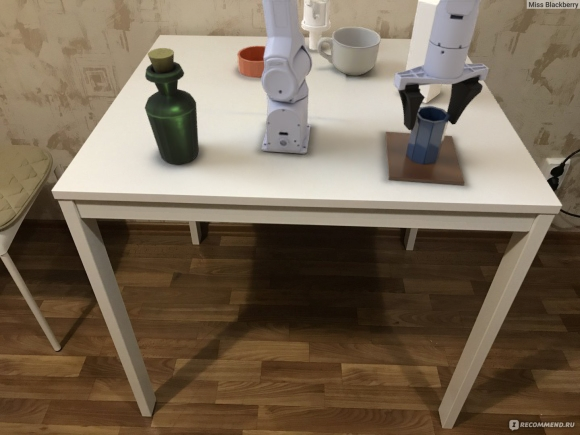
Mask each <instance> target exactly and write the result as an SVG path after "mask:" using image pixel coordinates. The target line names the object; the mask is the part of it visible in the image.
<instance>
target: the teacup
mask: <svg viewBox="0 0 580 435" xmlns="http://www.w3.org/2000/svg"><path fill="white" fill-rule="evenodd" d="M381 41H382V37H381V35H380V34H379V33H378V32H376V31H375V30H373V29H371V28H367V27H362V26H343V27H339V28H337V29H335V30H334V31H333V32H332V35H331V38H330V37H329V36H324V37H323V36H322V38H321V39H320V40H319V41H318V43H317V50H316V51H317V52H318V54H319V56H321V57H322V58H324V59H325V60H327V61H328V63H329V64H332V65H333V66H334V68H335V69H337V70H338V71H339V72H341V73H342V74H345V75H347V76H361V75H364V74H366V73H367V72H369V71H370V70H372V69H373V68H374V66H375V65H376V64H377V60H378V55H379V49H380V44H381ZM325 43H327V44H328V45H329V48H330V50H331V52H330V54H328V53H326V52H325V51H324V50H323V49H322V45H323V44H325Z"/></svg>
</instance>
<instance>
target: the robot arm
mask: <svg viewBox="0 0 580 435" xmlns="http://www.w3.org/2000/svg"><path fill="white" fill-rule="evenodd" d="M261 2H262V9H263V16H264V22H265V23H264V24H265V29H266V30H265V32H266V38H267V39H266V45H265V46H266V48H265V52H264V71H263V74H262V77H260V78H261V79H260V80H261V86H262V89H263V90H264V92H265V93H266V112H267V113H266V115H267V116H266V118H265V119H266V121H265V124H266V125H265V127H266V131H265V135H264V138H263V141H262V145H261V151H263V152H273V153H274V152H276V153H289V154H303V155H304V154H307V152H308V147H309V140H310V134H311V128H312V127H311V126H312V125H311V124H310V123H308V122H309V121H308V118H309V90H310V89H309V86H308V83H307V80H306V78H307V76H309V74H310V72H311V70H312V68H313V58H312V55H311V54H310V52H309V50H308V48H307V46H306V45H307V44H306V38H305V36H304V34H303V33H302V31H301V30H300V20H299V9H298V0H261ZM481 3H482V0H440V1H439V3H438V5H437V7H436V11H435V15H434V20H433V25H432V30H431V34H430V39H429V44H428V49H427V53H426V58H425V63H424V65H422V66H419V67H416V68H413V69H410V70H407V71H406V70H403V71H398V72H395V73H394V78H393V86H394V87H395V88H396V89H397V92H398V94H399V97H400V101H401V106H402V114H403V126H404V127H405V128H406V129H407V130H408V131H411V130H413V128H414V126H415V122H416V117H417V113H418V110H419V108H420V107H421V106H422V103H423V102H422V101H423V100H424V98H425V97H424V96H423V95H422V94H421V93H420V89H419V86H421V85H430V84H442V85H451V88H450V89H451V90H450V97H449V98H450V99H449V102H448V107H447V110H446V112H447V113H448V114H449V115H450V118H449V121H448V123H450V124H451V125H456V124H457V123H458V121H459V119H460V117H461V116H462V114H463V113H464V112H465V110H466V108H467V107H468V106H469V104H470V103H471V102H472V101H473V100H474V99H475V98H476V97H477V96H478V95H480V94H481V92H482V91H483V87H484V85H483V84H481V83H480V81H486V80H487V76H488V74H489V70H490V68H489V67H488V66H486V65H485V64H484V63H482V62H481V63H467V62H466V61H467V58H468V54H469V51H470V47H471V44H472V39H473V35H474V32H475V28H476V25H477V21H478V17H479V13H480V9H479V8H480V5H481Z"/></svg>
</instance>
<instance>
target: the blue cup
mask: <svg viewBox="0 0 580 435" xmlns="http://www.w3.org/2000/svg"><path fill="white" fill-rule="evenodd" d="M449 118H450V115H449V114H448V113H447V110H445V109H444V108H441V107H438V106H433V105H426V106H420V108H419V110H418V113H417V117H416V122H415V126H414V128H413V130H410V132H409V133H410V138H409V142H408V147H407V152H406V155H407V156H408V157H409V158H410V160H412V161H414V162H417V163H420V164H424V165H425V164H431V163H435V162H436V161H437V159H438V158H439V155H440V151H441V147H442V144H443V140H444V136H446V131H447V129H448V124H449Z"/></svg>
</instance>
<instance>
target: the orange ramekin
mask: <svg viewBox="0 0 580 435" xmlns="http://www.w3.org/2000/svg"><path fill="white" fill-rule="evenodd" d="M265 48H266V45H251V46H250V45H249V46H246V47H242V48H241V49H239V50H238V52H237V54H236V57H237V58H236V59H237V69H238V72H239V73H240V74H241V75H243V76H246V77H248V78H262V74H263V71H264V52H265Z"/></svg>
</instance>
